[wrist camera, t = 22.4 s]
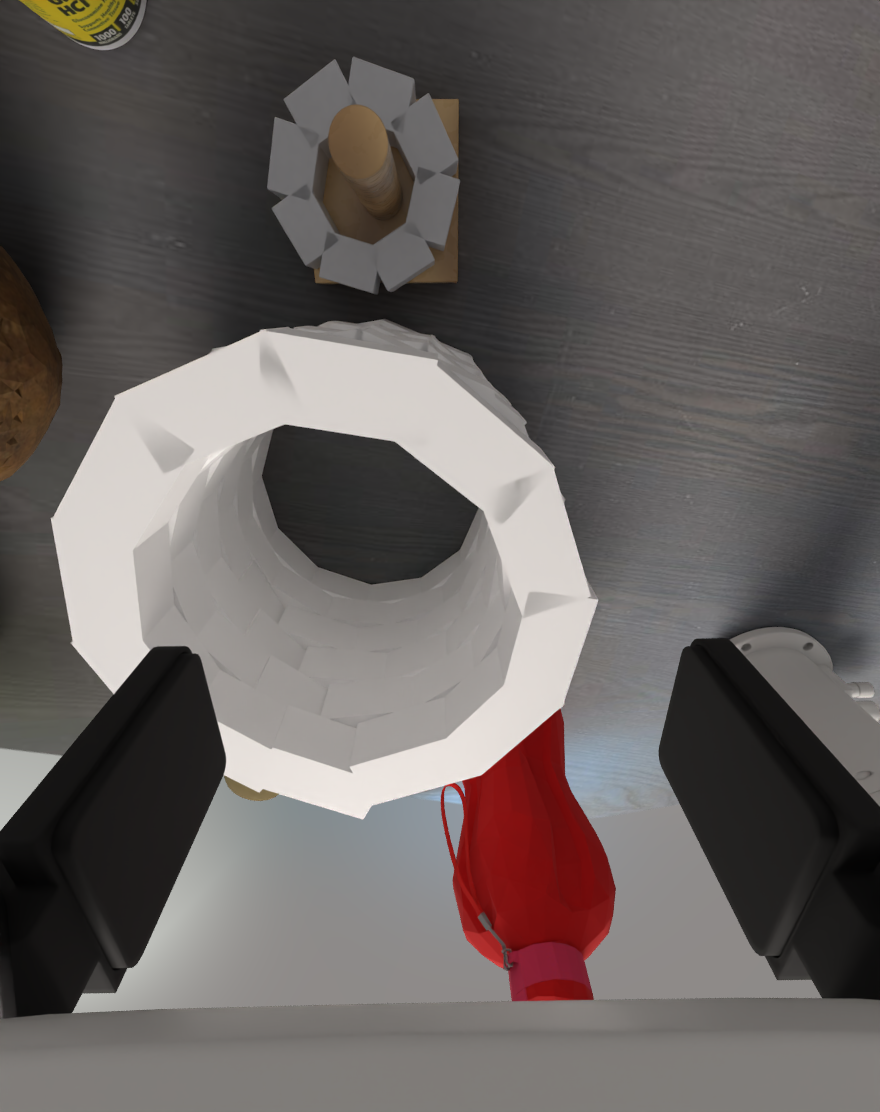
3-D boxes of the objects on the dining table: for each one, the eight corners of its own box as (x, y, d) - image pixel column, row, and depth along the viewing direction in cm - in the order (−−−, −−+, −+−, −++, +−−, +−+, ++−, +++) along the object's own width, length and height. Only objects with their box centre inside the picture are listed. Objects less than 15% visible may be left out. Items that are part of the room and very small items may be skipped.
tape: (475, 121, 29) (479, 101, 26) (429, 310, 33) (429, 310, 30) (297, 57, 28) (283, 30, 25) (273, 262, 32) (258, 258, 29)
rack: (457, 107, 30) (472, -15, 19) (456, 283, 34) (468, 270, 22) (302, 108, 30) (223, -14, 18) (319, 284, 34) (262, 271, 22)
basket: (256, 257, 33) (67, 202, 16) (583, 396, 37) (713, 472, 20) (190, 578, 43) (31, 754, 26) (453, 660, 47) (466, 859, 30)
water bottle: (461, 636, 46) (490, 952, 23) (566, 677, 48) (684, 1003, 25) (418, 708, 49) (407, 1043, 27) (517, 743, 52) (584, 1080, 29)
